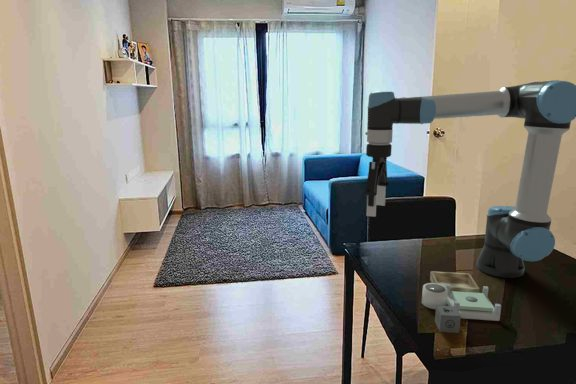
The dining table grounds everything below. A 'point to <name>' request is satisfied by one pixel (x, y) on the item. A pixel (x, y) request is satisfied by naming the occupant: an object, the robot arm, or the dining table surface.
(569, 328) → the dining table surface
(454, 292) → the plate
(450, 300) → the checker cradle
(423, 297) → the cup
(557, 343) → the dining table surface
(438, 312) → the dice cube
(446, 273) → the trough
